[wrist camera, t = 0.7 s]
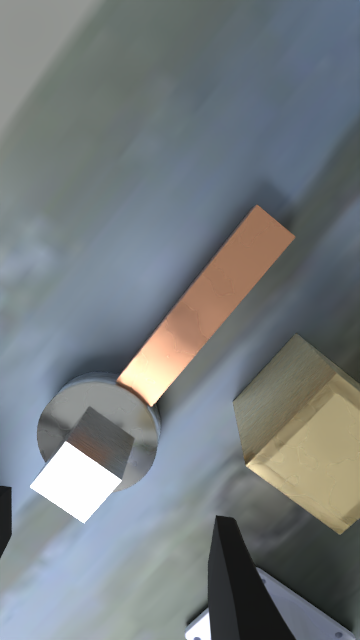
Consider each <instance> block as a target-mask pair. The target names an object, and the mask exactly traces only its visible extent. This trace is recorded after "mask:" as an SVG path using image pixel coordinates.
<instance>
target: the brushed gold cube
mask: <svg viewBox="0 0 360 640" xmlns="http://www.w3.org/2000/svg"><path fill="white" fill-rule="evenodd" d="M233 406H234V411H235V416H236V421H237V425H238V430H239V435H240V440H241V445H242V450H243V455H244V460H245V465H246V466H247V467H248V468H249V469H251V470H252V471H254V472H255V473H256V474H258V475H259V476H260V477H262V478H263V479H264V480H266V481H267V482H269V483H270V484H271V485H273V486H274V487H275V488H277V489H278V490H279V491H281V492H282V493H283V494H285V495H286V496H288V497H289V498H290V499H292V500H293V501H294V502H296V503H297V504H298V505H300V506H301V507H303V508H304V509H305V510H307V511H308V512H309V513H311V514H312V515H313V516H315V517H316V518H317V519H319V520H320V521H322V522H323V523H324V524H326V525H327V526H328V527H330V528H331V529H332V530H334V531H335V532H337V533H338V534H339V535H340V534H342V533H343V532H344V531H345V530H346V529H347V528H349V527H350V526H351V525H352V524H353V523H354V522H355V521H357V520H358V519H359V518H360V384H359V383H358V382H357V381H355V380H354V379H353V378H352V377H350V376H349V375H348V374H347V373H345V372H344V371H343V370H342V369H340V368H339V367H338V366H337V365H335V364H334V363H333V362H332V361H330V360H329V359H328V358H327V357H325V356H324V355H323V354H322V353H320V352H319V351H318V350H317V349H316V348H314V347H313V346H312V345H311V344H309V343H308V342H307V341H306V340H304V339H303V338H302V337H301V336H299V335H298V334H297V333H296V334H295V335H294V336H293V337H292V338H291V339H290V340H289V341H288V342H287V343H286V345H285V346H284V347H283V348H282V349H281V350H280V351H279V352H278V353H277V354H276V355H275V357H274V358H273V359H272V360H271V361H270V362H269V363H268V364H267V365H266V366H265V367H264V369H263V370H262V371H261V372H260V373H259V374H258V375H257V376H256V377H255V378H254V379H253V380H252V382H251V383H250V384H249V385H248V386H247V387H246V388H245V389H244V390H243V391H242V392H241V394H240V395H239V396H238V397H237V398H236V399H235V400H234V401H233Z"/></svg>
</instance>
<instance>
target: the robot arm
mask: <svg viewBox="0 0 360 640" xmlns="http://www.w3.org/2000/svg"><path fill="white" fill-rule="evenodd" d="M11 535H12V510H11V487H6V486H0V558H1V556H2V554H3V552H4V550H5V548H6V546H7V544H8V542H9V540H10V538H11ZM185 637H186V638H187V639H188V640H356V639H355V636H354V634H353V633H352V632H350V631H349V630H347V629H346V628H345V627H343V626H342V625H340V624H339V623H337V622H336V621H335V620H333V619H332V618H330V617H329V616H327V615H326V614H325V613H323V612H322V611H320V610H319V609H317V608H316V607H315V606H313V605H312V604H310V603H309V602H307V601H306V600H305V599H303V598H302V597H300V596H299V595H297V594H296V593H294V592H293V591H292V590H290V589H289V588H287V587H286V586H284V585H283V584H282V583H280V582H279V581H277V580H276V579H274V578H273V577H272V576H270V575H269V574H267V573H266V572H264V571H263V570H262V569H260V568H258V567H255V565H254V563H253V561H252V558H251V556H250V554H249V552H248V550H247V547H246V545H245V543H244V540H243V538H242V535H241V533H240V530H239V527H238V525H237V522H236V520H235V519H234V518H231V517H224V516H217V515H216V518H215V524H214V530H213V537H212V543H211V549H210V555H209V561H208V608H207V609H206V610H205V611H204V612H202V613H201V614H200V615H199V616H198V617H197V618H196V619H195V620H194V621H193V622H192V623H190V624H189V625H188V626H187V627H186V628H185Z"/></svg>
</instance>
